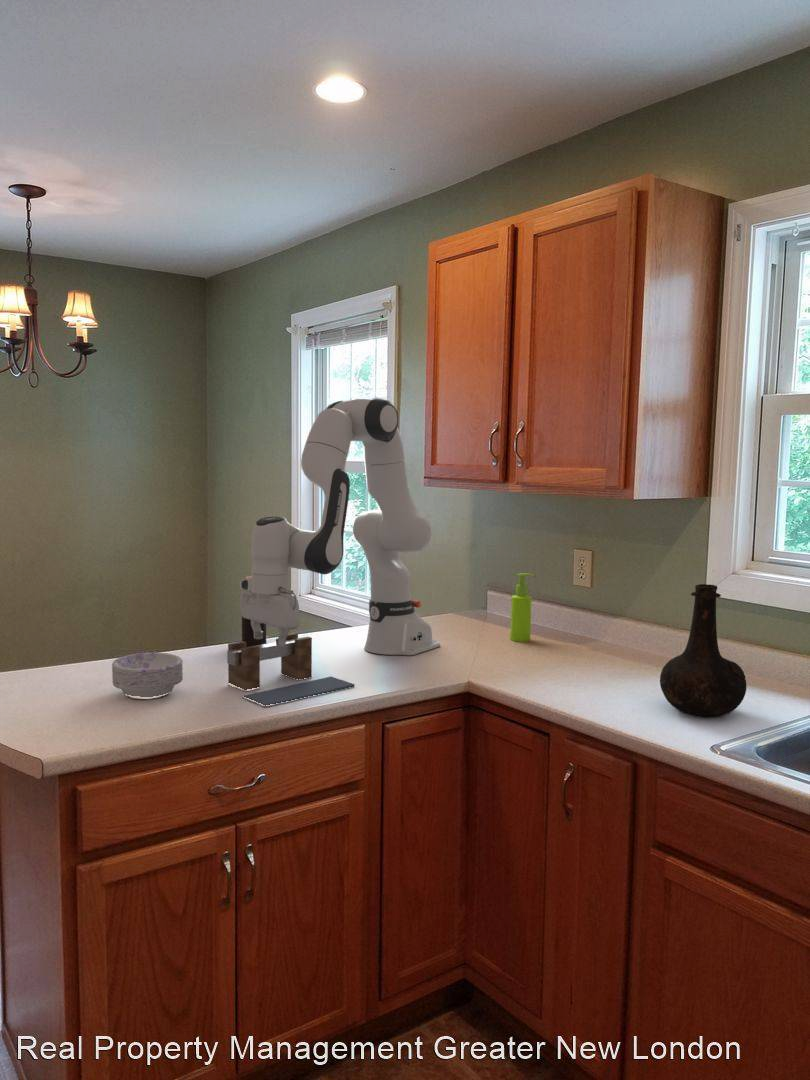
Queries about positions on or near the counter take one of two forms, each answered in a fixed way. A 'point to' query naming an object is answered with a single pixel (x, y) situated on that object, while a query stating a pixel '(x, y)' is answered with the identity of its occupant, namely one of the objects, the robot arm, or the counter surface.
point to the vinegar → (252, 632)
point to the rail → (264, 652)
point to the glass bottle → (703, 666)
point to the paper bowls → (147, 673)
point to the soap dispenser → (521, 611)
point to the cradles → (290, 665)
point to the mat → (299, 690)
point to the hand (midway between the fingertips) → (269, 642)
